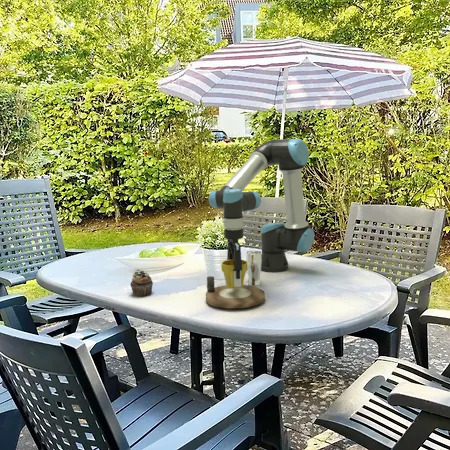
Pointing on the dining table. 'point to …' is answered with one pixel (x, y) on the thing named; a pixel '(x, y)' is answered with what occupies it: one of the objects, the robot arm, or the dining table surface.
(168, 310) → the dining table surface
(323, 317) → the dining table surface
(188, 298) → the dining table surface
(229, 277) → the plant pot
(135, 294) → the cupcake
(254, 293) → the turntable
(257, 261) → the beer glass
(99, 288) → the dining table surface
